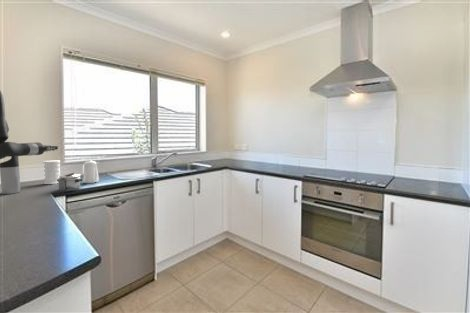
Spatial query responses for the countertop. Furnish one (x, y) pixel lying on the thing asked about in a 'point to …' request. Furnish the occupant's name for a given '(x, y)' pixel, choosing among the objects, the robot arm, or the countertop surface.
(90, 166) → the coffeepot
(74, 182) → the pot
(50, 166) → the decorative container
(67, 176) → the lid
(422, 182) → the countertop surface
